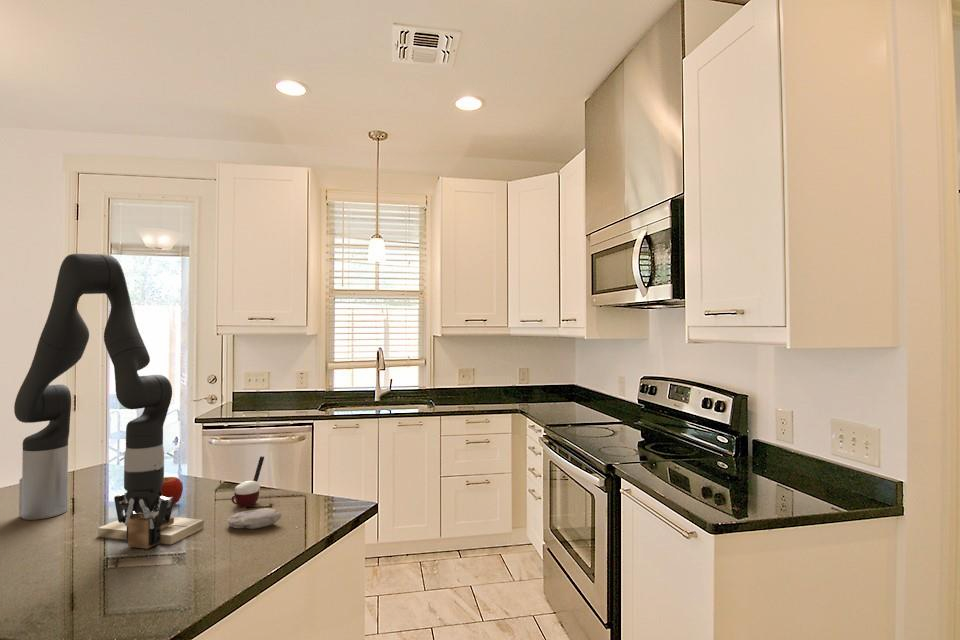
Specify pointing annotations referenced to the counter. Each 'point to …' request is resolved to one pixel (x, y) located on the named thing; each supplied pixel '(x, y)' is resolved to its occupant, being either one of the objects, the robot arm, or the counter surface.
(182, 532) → the board
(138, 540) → the block
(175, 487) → the apple
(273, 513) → the fossil
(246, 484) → the cocoa
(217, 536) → the counter surface
